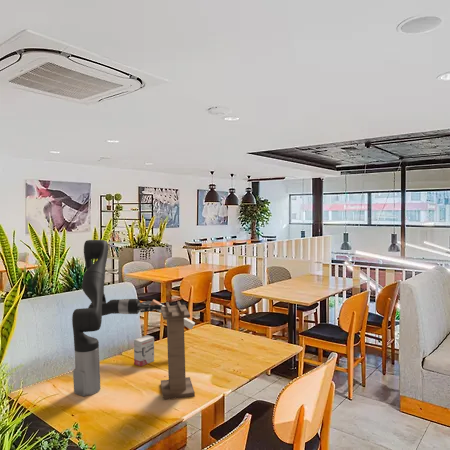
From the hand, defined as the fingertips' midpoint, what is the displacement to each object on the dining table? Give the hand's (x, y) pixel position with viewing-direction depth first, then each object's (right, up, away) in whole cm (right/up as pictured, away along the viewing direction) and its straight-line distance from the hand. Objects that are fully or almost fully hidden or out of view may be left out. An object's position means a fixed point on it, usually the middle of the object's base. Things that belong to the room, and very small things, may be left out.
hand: (162, 306), depth 197 cm
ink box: (-7, -24, -13) cm, 28 cm away
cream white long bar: (+4, -6, 0) cm, 7 cm away
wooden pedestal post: (+12, -25, -41) cm, 50 cm away
